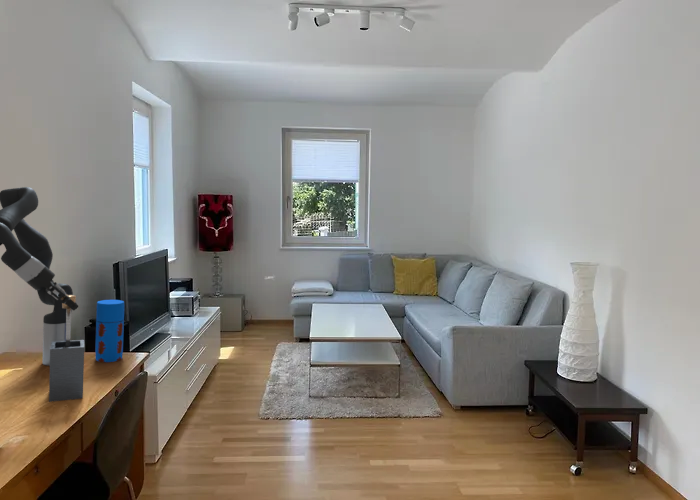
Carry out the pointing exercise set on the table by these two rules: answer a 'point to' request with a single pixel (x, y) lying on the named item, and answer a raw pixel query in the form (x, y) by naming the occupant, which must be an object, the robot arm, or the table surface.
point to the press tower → (66, 370)
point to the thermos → (109, 330)
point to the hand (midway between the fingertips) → (75, 307)
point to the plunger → (68, 319)
